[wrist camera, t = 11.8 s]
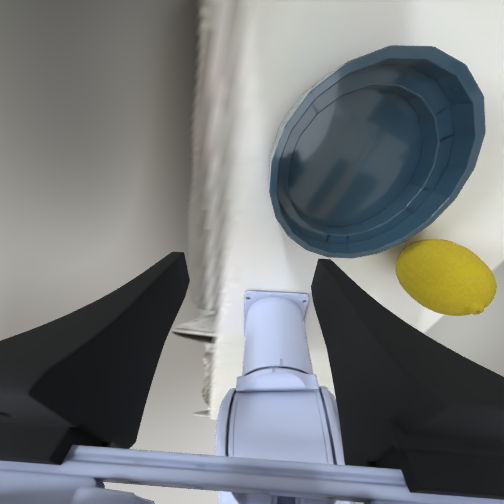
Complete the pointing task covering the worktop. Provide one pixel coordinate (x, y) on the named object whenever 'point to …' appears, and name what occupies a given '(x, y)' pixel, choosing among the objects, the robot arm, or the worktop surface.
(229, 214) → the worktop surface
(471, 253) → the lemon
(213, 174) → the worktop surface
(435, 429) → the robot arm
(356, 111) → the bowl
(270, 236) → the worktop surface
